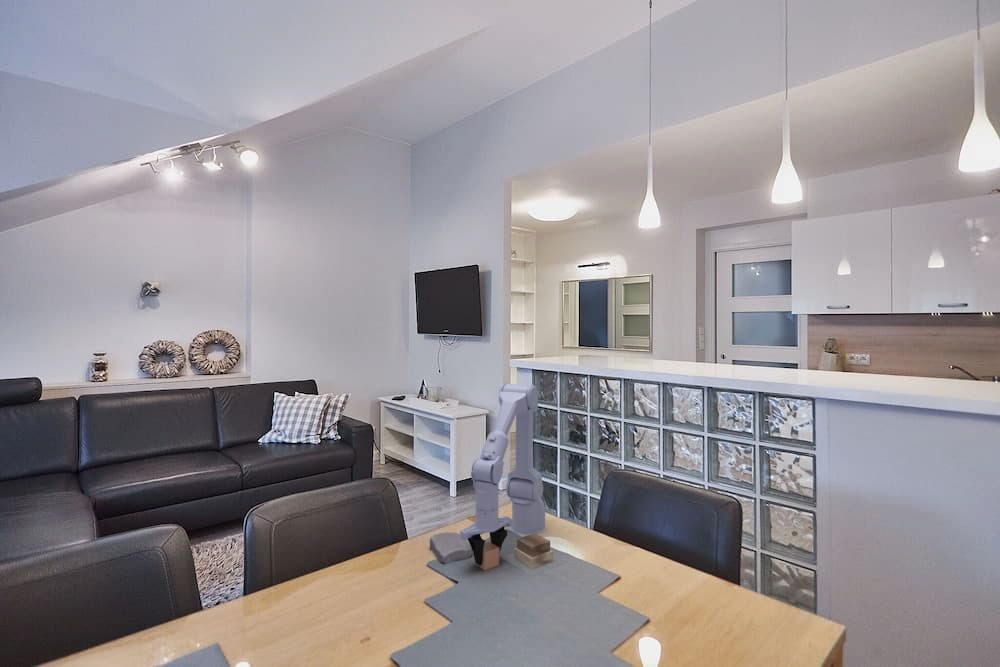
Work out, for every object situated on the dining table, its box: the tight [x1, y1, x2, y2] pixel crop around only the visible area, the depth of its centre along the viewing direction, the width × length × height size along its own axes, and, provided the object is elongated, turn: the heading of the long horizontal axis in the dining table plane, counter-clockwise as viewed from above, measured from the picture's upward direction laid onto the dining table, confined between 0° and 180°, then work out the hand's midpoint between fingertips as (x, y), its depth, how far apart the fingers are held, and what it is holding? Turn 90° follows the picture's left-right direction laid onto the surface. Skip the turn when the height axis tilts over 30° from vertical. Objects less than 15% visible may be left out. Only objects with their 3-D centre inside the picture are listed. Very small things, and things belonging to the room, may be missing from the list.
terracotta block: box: [474, 541, 500, 571], centre depth 124 cm, size 4×4×5 cm
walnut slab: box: [516, 533, 551, 557], centre depth 126 cm, size 6×6×2 cm
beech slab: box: [513, 547, 554, 569], centre depth 126 cm, size 7×7×2 cm
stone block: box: [429, 531, 473, 565], centre depth 131 cm, size 12×5×10 cm
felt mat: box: [500, 552, 567, 577], centre depth 126 cm, size 12×12×1 cm
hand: (486, 560), depth 124 cm, fingers closed on terracotta block, 4 cm apart
